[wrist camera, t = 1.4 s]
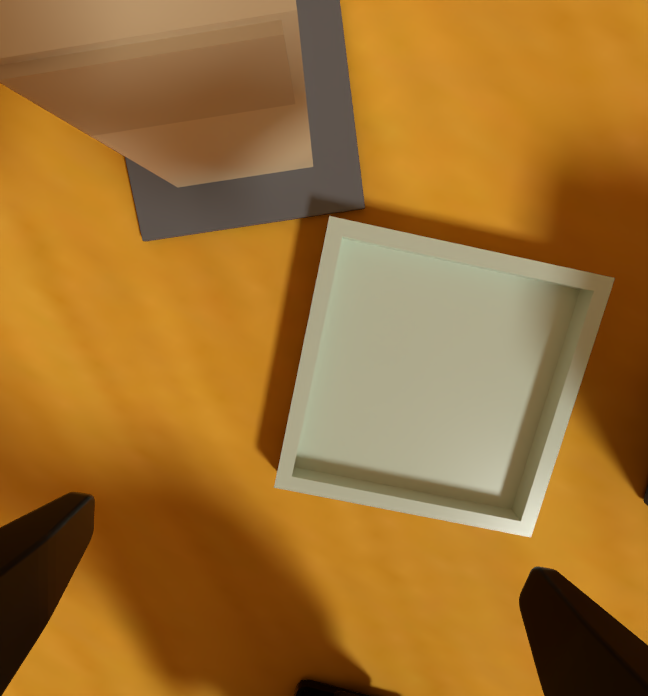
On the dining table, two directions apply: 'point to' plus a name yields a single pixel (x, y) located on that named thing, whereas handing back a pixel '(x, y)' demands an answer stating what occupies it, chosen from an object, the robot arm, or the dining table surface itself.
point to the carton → (168, 80)
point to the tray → (437, 377)
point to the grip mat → (281, 187)
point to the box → (646, 496)
